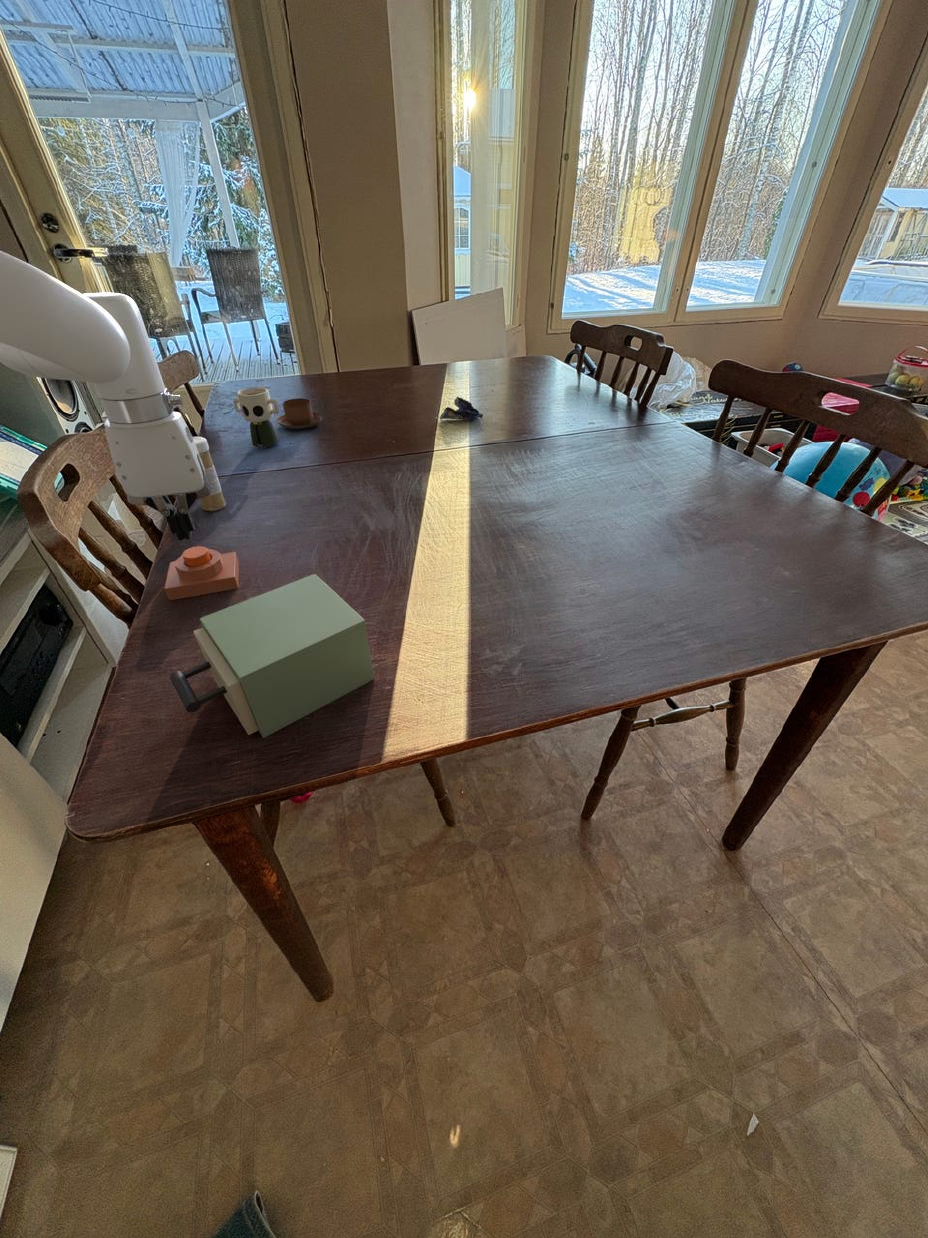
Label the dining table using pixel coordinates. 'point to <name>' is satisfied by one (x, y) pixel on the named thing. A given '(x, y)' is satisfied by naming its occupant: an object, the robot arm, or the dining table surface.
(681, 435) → the dining table surface
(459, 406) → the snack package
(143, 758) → the dining table surface
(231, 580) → the control block
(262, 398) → the character mug
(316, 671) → the fryer
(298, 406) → the cup and saucer
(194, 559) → the button
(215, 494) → the sprinkles bottle
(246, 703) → the fryer drawer
